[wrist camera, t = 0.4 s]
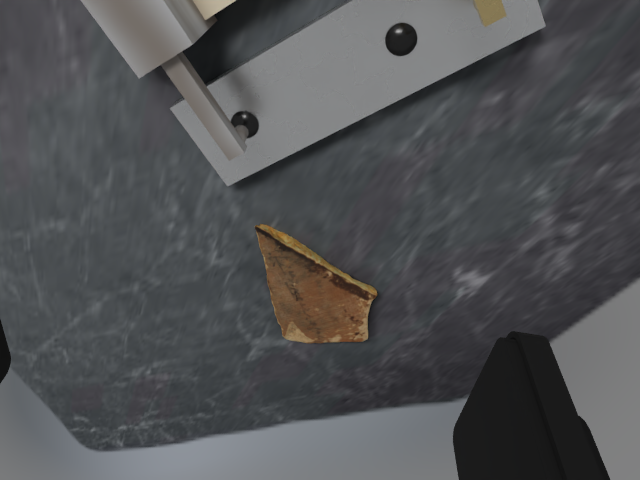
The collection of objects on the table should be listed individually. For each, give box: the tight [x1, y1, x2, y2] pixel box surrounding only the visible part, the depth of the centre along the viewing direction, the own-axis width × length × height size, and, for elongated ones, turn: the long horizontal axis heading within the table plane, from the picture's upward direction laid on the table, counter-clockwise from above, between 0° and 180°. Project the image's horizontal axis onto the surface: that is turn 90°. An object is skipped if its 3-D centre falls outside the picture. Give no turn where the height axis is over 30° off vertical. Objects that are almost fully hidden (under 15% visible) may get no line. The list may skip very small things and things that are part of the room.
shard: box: [255, 224, 377, 343], centre depth 45 cm, size 13×9×2 cm
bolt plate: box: [170, 0, 545, 186], centre depth 35 cm, size 24×7×1 cm, turn 120°
